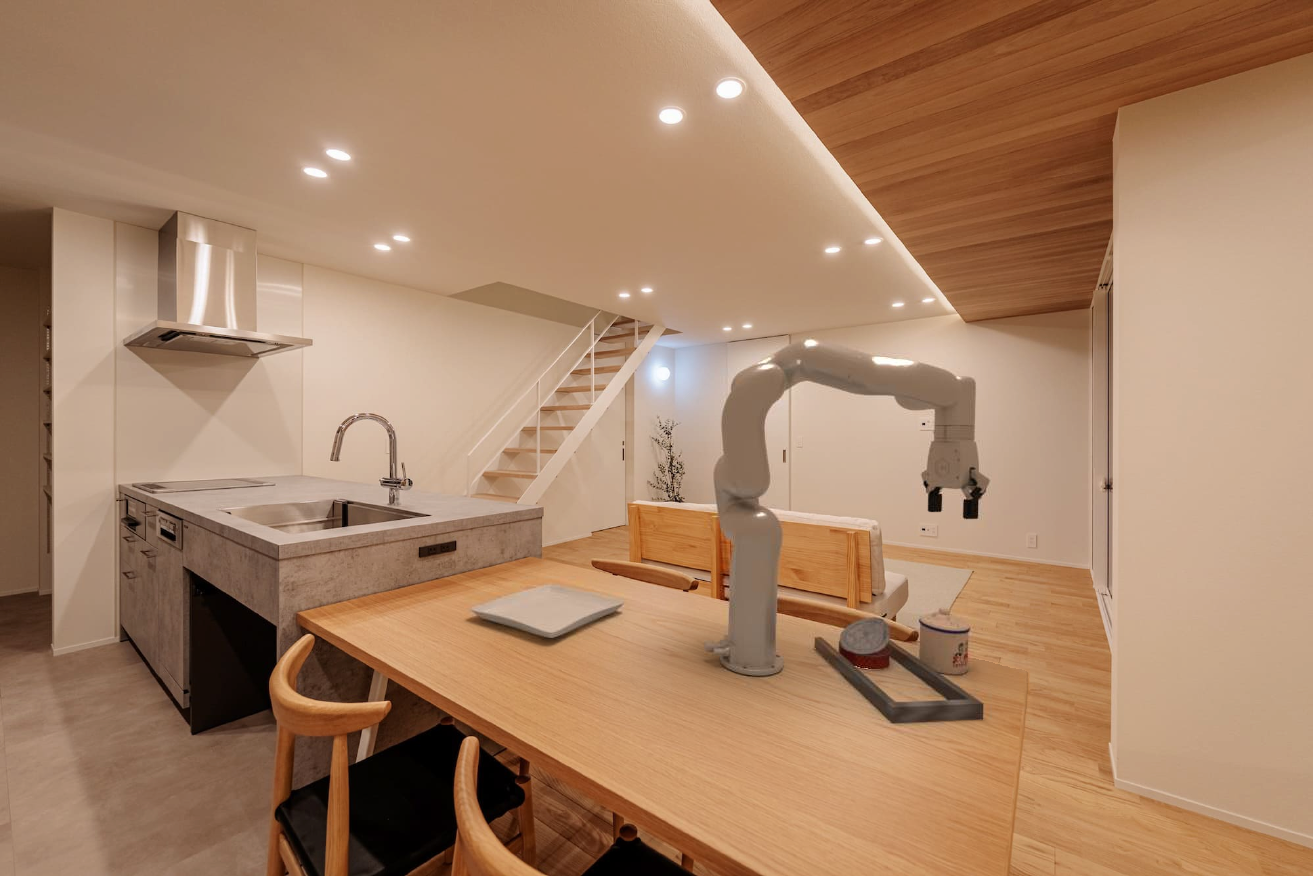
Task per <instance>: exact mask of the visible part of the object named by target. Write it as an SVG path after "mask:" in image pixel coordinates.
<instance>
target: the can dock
mask: <svg viewBox="0 0 1313 876" xmlns="http://www.w3.org/2000/svg"><path fill="white" fill-rule="evenodd" d="M886 646H887V647H888V648H889V649H890V658H891V659H892V660H894V661H895V660H896V661H895V662H897V663H898V664H899V665H901V666H902V667H903V668H904V669H906V670H908V671H909V672H911V673H912V674H913V675H914V676H916V677H917V678H918V679H920V680H921V681H922V682H923V683H925V684H927V685H928V686H929V687H930V688H932V690H934V691H936V692H938V693H939V694H940V695H942V696H943V697H944V698H946V699H944V700H922V701H921V700H917V701H914V700H913V701H895V700H894V699H893V698H892V697H891V696H890V695H888V694H887V693H886V692H885V691H883V689H882V688H880V687H879V685H877V684H876V683H874V682H873V680H871V679H870V678H869V677H868V676H867V675H865V674H864V673H863V672H862V671H861V670H860V669H859V668H856V667H855V666H854V665H853V664H852V663H850V662H849V661H848V660H847V659H846V658H845V657H844V656H842V655H841V654H840V653H839V650H837V649H836V648H835V647H834V646H832V645H831V644H830V643H829V642H828V641H827V640H825V639H824V638H823V637H822V636H819V637H817V636H814V648H816V650H818V652H820V654H822V655H821V657H823V656H824V657H823V659H825V658H826V659H825V661H827V660H828V661H829V662H830V663H829V662H828V661H827V662H828V663H829V664H830V665H831V664H832V665H833V666H834V667H835V668H836V669H837V670H838V671H839V672H840V673H841V674H840V673H839V672H838V671H837V670H836V669H835V668H834V667H833V666H832V665H831V666H832V667H833V668H834V669H835V670H836V671H837V672H838V673H839V674H840V675H841V676H842V677H843V678H844V679H846V680H847V681H848V682H849V683H850V684H851V685H852V686H853V687H854V688H855V689H856V690H857V691H858V692H859V693H860V692H861V693H860V694H862V695H863V697H865V699H867V701H869V703H871V705H873V706H874V707H875V708H876V709H877V710H878V711H879V712H880V713H881V714H882V715H883V716H884V717H885V718H887V720H888V721H889V722H890V723H892V724H895V723H912V722H914V723H916V722H917V723H918V722H939V721H940V722H941V721H960V720H963V721H964V720H982V719H984V703H983V702H982V701H981V700H979V699H978V698H976V697H975V696H973V695H972V694H970V693H969V692H967V691H965V690H964V689H963V688H961V687H960V686H959V685H957V684H956V683H955V682H953V681H951V680H950V679H948V678H947V677H945V676H944V675H942V673H939V672H937V671H935V670H934V669H932V668H931V667H929V666H928V665H926V664H925V663H923V662H922V661H920V660H919V657H916V656H915V655H913V654H912V653H911V652H909V651H908V650H906V649H904V648H903V647H901V646H900V645H899V644H897V643H896V642H894V641H892V640H891V639H890V640H889V642H888V643H887V645H886ZM816 650H815V651H816ZM818 652H817V653H818ZM820 654H819V655H820Z"/></svg>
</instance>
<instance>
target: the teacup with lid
mask: <svg viewBox="0 0 1313 876" xmlns="http://www.w3.org/2000/svg"><path fill="white" fill-rule="evenodd" d="M918 622H919V625H920V626H919V652H918V654H919V655H918V656H919V657H918V659H919V660H920V661H922V662H923V663H925V664H926V665H928V666H929V667H931V668H932V669H934V670H935V671H937V672H938V673H939V674H944V675H954V676H957V675H962V674H966V673H967V672H968V670H969V668H968V666H969V665H968V662H969V632H970V631H971V628H970V625H969V623H967V622H966V621H965V620H964V619H961V618H959V617H957V616H956V615H955V614H952V613H951V610H950V609H949V608H948V607H938V611H934V612H931V613H926V614H925V613H924V614H922V615H921V616H920V617H919V619H918Z"/></svg>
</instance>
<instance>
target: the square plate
mask: <svg viewBox="0 0 1313 876" xmlns="http://www.w3.org/2000/svg"><path fill="white" fill-rule="evenodd" d="M625 603H626V601H625V600H622V599H618V598H613V597H610V596H606V595H603V594H598V593H594V592H589V591H586V590H580V589H577V588H573V587H565V586H561V585H555V584H550V583H548V584H545V585H541V586H538V587H537V586H536V587H533V588H530V589H526V590H523V591H518V592H515V593H511V594H508V595H506V596H501V597H498V598H496V599H493V600H490V601H487V602H484V603H481V604H479V605H475V606H473V607H470V608H469V611H471V612H473V613H474V614H475V615H476V616H478V617H479V618H482V619H483V620H487V621H490V622H494V623H497V624H500V625H504V626H506V627H510V628H513V629H517V630H521V631H524V632H526V633H530V634H533V635H537V636H540V637H545V638H549V639H553V638H557V637H559V636H562V635H565V634H567V633H569V632H571V631H574V630H576V629H578V628H580V627H583V626H586V625H587V624H589V623H591V622H595V621H597V620H599V619H600V618H602V617H604V616H607V615H609V614H612V613H614V612H616V611H618V610H619V609H620V608H622V606H623V605H624V604H625Z"/></svg>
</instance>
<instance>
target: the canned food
mask: <svg viewBox="0 0 1313 876" xmlns="http://www.w3.org/2000/svg"><path fill="white" fill-rule="evenodd" d="M889 640H891V629H890V627H889V624H888V622H887V621H885V620H884V618H880V617H876V616H871V617H866V618H864V617H863V618H861V619H859V620H855V621H853V622H852V623H851V624H849V625H847V626H845V628H844V629H843V630H842V631H841V632H840V636H839V639H838V652H839V653H840V654H841V655H842V656H844V657H845V658H846V659H847V660H848V661H849V662H850V663H852V664H853V665H854V666H857V667H860V668H868V669H882V670H885V669H884V668H886V669H887V668H889V667H890V658H891V657H890V649H889V648H888V647H887V646H886V645H887V643H888V642H889ZM888 666H889V667H888ZM860 668H859V669H860Z"/></svg>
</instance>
